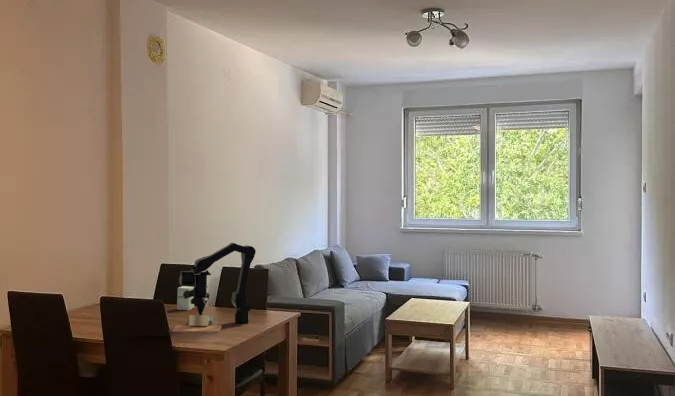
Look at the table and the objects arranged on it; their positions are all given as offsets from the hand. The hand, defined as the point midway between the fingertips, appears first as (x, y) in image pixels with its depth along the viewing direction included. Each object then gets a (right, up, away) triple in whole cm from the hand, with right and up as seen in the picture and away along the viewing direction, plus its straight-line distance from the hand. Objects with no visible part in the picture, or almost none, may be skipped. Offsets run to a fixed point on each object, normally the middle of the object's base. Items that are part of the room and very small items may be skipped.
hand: (200, 315), depth 306 cm
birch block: (0, -2, -4) cm, 5 cm away
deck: (0, -5, +3) cm, 6 cm away
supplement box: (-18, -5, +44) cm, 48 cm away
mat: (0, -5, -8) cm, 10 cm away
